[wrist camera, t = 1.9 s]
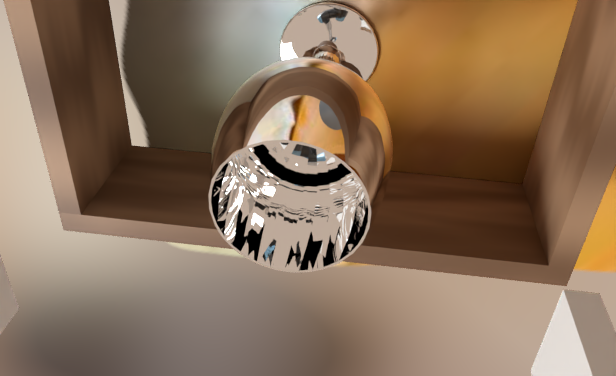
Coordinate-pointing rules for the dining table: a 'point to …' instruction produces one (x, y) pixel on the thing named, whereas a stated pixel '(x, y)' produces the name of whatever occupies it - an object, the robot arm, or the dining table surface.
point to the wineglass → (304, 147)
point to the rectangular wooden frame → (402, 186)
